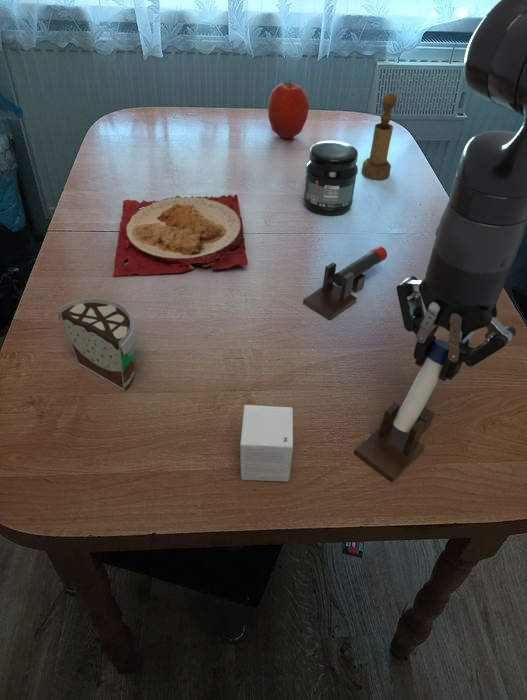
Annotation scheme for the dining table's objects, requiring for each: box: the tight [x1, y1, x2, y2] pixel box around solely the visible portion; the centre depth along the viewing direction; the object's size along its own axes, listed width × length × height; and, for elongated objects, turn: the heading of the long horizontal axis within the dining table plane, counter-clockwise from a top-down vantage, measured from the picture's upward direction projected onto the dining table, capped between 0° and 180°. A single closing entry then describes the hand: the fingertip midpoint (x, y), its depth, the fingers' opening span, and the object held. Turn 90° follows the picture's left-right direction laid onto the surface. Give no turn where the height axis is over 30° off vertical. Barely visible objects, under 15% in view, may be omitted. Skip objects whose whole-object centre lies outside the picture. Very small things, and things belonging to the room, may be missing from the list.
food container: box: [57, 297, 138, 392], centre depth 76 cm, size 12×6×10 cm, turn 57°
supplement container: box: [302, 140, 359, 216], centre depth 112 cm, size 10×10×12 cm
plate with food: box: [112, 194, 249, 277], centre depth 104 cm, size 24×26×3 cm
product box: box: [239, 404, 294, 483], centre depth 65 cm, size 6×6×7 cm
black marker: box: [333, 245, 388, 288], centre depth 93 cm, size 12×3×3 cm, turn 135°
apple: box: [267, 79, 310, 139], centre depth 136 cm, size 10×10×14 cm
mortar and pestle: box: [361, 92, 397, 181], centre depth 121 cm, size 7×6×18 cm
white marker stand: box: [353, 402, 435, 483], centre depth 69 cm, size 11×6×6 cm, turn 135°
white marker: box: [393, 338, 450, 433], centre depth 65 cm, size 12×3×3 cm
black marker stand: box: [302, 262, 366, 321], centre depth 90 cm, size 11×6×6 cm, turn 135°
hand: (433, 368), depth 64 cm, fingers closed on white marker, 2 cm apart
